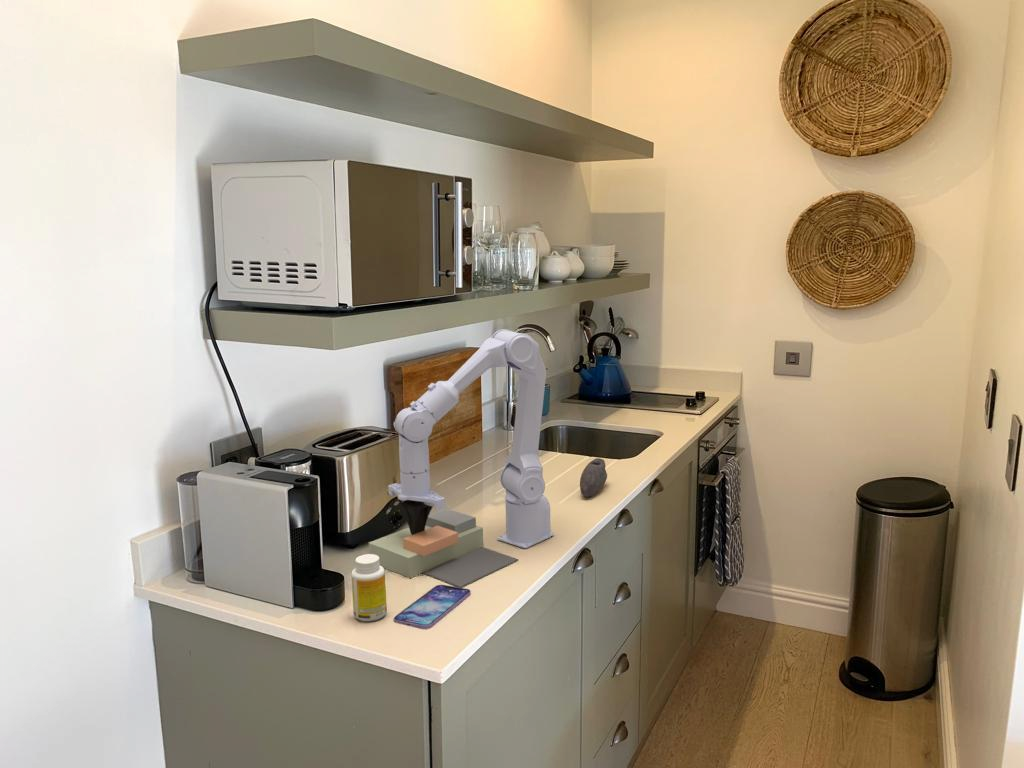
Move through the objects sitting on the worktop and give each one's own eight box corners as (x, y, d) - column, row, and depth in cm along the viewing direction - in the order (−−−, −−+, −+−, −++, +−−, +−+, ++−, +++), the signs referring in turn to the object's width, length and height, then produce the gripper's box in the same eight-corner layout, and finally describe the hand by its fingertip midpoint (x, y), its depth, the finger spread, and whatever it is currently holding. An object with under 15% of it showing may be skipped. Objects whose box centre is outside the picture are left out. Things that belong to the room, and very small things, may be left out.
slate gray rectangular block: (424, 525, 165) (424, 515, 165) (445, 517, 170) (445, 508, 169) (455, 535, 159) (454, 525, 159) (475, 526, 164) (475, 517, 163)
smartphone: (390, 619, 133) (438, 583, 146) (391, 624, 133) (438, 588, 146) (428, 626, 129) (473, 589, 143) (428, 631, 130) (473, 594, 143)
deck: (443, 532, 172) (442, 514, 171) (483, 546, 164) (482, 527, 163) (369, 561, 157) (368, 542, 156) (409, 578, 149) (408, 558, 149)
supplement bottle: (393, 615, 135) (390, 558, 133) (364, 626, 131) (361, 568, 129) (375, 604, 139) (372, 549, 137) (347, 614, 135) (344, 558, 134)
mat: (481, 548, 163) (481, 546, 163) (518, 560, 156) (518, 559, 156) (423, 573, 151) (423, 572, 151) (460, 588, 145) (460, 586, 145)
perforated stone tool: (593, 502, 189) (593, 474, 188) (572, 500, 191) (571, 472, 190) (610, 484, 203) (610, 458, 201) (590, 482, 205) (590, 456, 203)
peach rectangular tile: (437, 534, 160) (437, 525, 159) (458, 542, 156) (458, 532, 155) (403, 548, 153) (402, 538, 153) (424, 556, 149) (423, 546, 149)
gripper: (374, 467, 156) (378, 533, 159) (424, 481, 147) (427, 551, 149) (402, 459, 162) (405, 523, 164) (452, 472, 152) (454, 540, 154)
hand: (417, 535), depth 157 cm, fingers closed
